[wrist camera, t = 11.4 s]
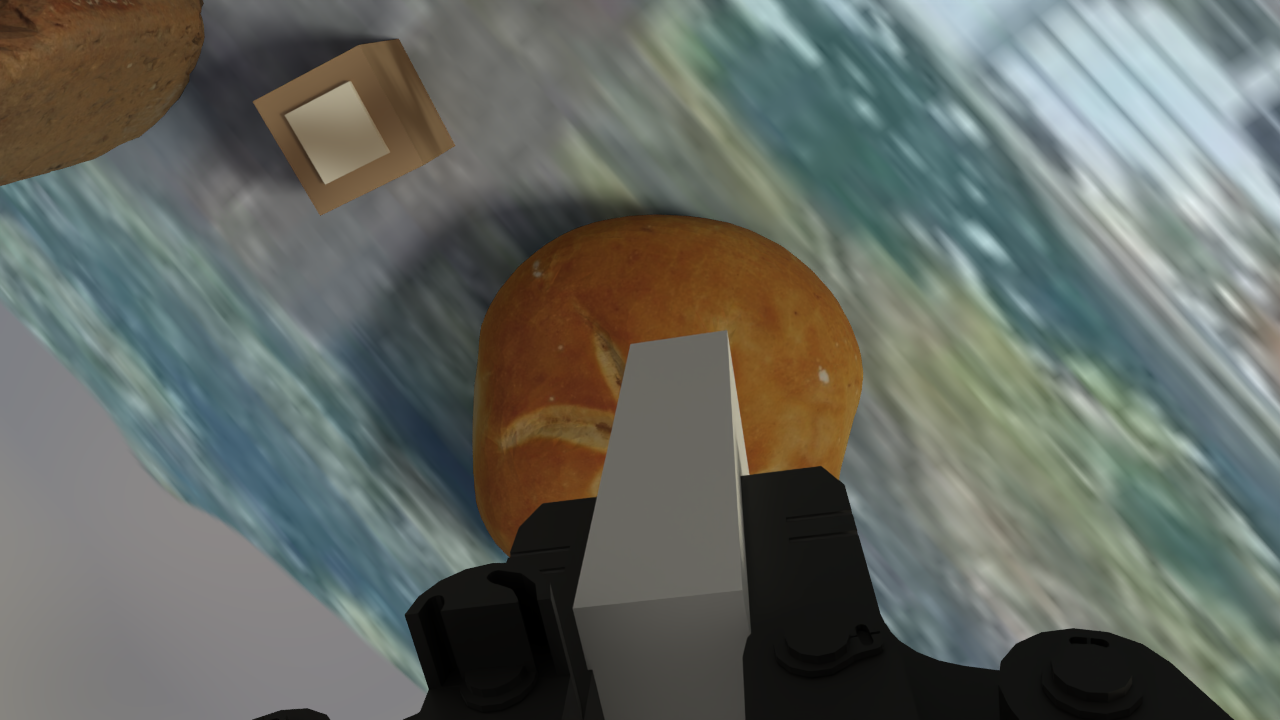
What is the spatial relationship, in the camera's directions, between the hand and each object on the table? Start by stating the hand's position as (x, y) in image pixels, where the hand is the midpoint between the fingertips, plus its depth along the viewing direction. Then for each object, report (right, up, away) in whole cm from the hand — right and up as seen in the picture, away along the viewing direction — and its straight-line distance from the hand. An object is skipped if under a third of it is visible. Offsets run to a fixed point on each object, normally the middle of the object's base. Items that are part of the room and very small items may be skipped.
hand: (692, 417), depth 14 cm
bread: (0, -1, +40) cm, 40 cm away
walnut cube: (-15, +14, +35) cm, 40 cm away
